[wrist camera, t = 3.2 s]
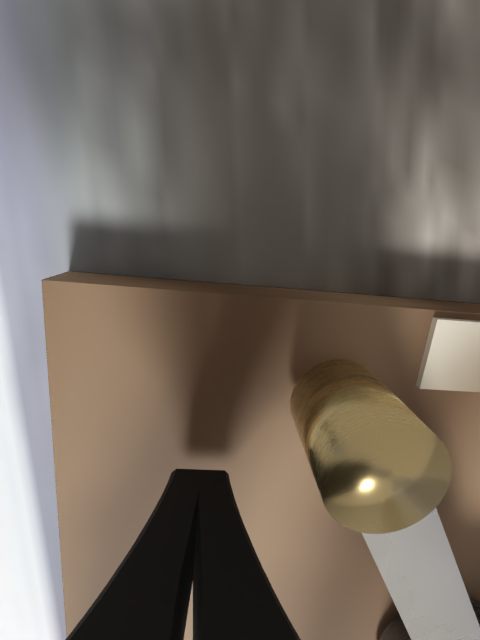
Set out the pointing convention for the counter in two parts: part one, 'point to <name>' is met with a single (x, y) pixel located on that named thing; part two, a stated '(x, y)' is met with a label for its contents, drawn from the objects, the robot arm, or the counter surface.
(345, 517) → the crank handle
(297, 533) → the level stand
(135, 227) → the counter surface
